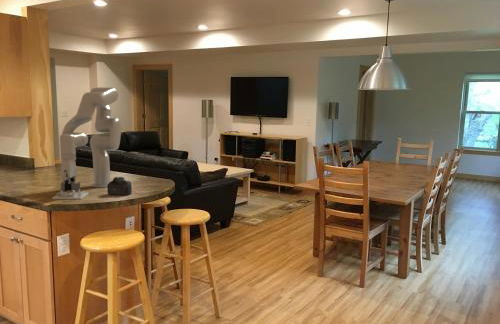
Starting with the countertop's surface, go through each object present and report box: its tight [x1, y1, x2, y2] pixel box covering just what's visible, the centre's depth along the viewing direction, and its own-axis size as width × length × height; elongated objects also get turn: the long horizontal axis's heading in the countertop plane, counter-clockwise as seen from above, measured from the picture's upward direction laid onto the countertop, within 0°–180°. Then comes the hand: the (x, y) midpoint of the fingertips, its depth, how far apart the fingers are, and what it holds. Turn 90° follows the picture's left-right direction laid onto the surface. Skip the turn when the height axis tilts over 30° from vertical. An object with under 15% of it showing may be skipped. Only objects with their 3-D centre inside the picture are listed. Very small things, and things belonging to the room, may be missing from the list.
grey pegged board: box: [52, 189, 89, 200], centre depth 228 cm, size 12×15×4 cm
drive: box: [60, 180, 81, 192], centre depth 227 cm, size 5×9×4 cm, turn 103°
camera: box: [106, 176, 133, 196], centre depth 234 cm, size 13×10×10 cm
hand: (70, 189), depth 227 cm, fingers closed on drive, 5 cm apart
